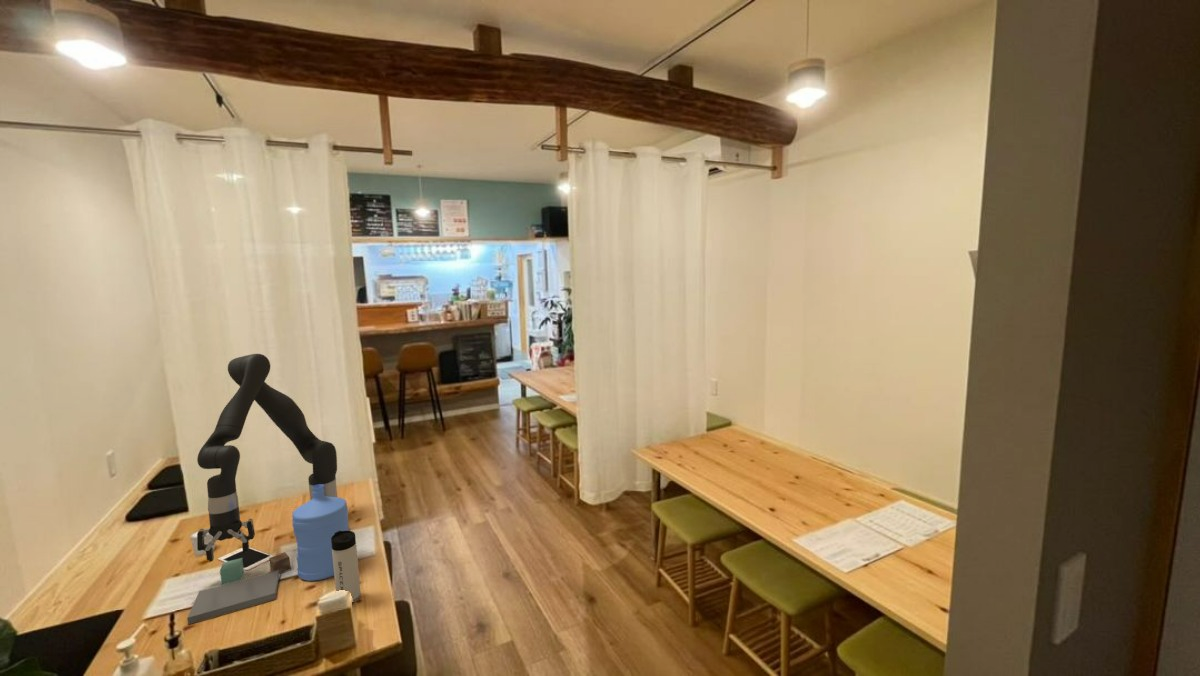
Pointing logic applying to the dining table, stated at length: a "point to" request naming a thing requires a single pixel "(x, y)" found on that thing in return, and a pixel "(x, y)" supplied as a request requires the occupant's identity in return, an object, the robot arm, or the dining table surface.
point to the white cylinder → (206, 541)
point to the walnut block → (280, 563)
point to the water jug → (318, 533)
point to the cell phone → (247, 558)
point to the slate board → (234, 596)
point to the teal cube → (231, 571)
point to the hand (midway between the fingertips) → (228, 556)
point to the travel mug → (346, 563)
